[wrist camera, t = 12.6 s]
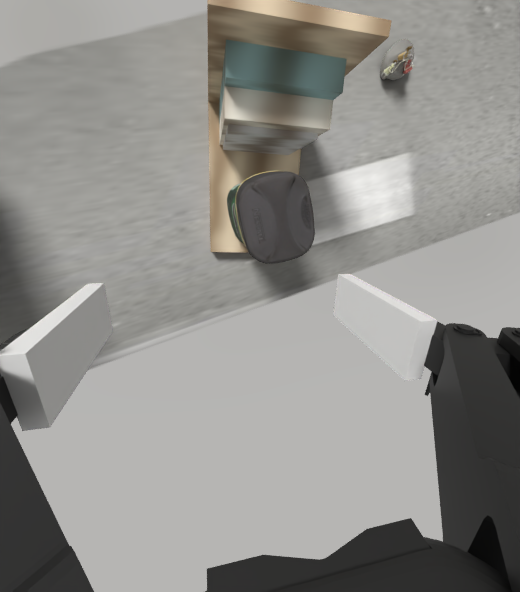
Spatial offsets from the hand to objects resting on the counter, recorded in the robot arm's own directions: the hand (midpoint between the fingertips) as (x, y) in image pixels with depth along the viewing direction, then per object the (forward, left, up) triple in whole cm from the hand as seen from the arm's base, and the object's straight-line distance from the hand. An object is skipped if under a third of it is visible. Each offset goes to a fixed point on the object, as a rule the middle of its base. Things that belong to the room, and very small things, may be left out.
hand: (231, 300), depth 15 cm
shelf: (+6, +8, -32) cm, 34 cm away
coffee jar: (+6, +4, -31) cm, 31 cm away
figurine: (+27, +26, -33) cm, 50 cm away
